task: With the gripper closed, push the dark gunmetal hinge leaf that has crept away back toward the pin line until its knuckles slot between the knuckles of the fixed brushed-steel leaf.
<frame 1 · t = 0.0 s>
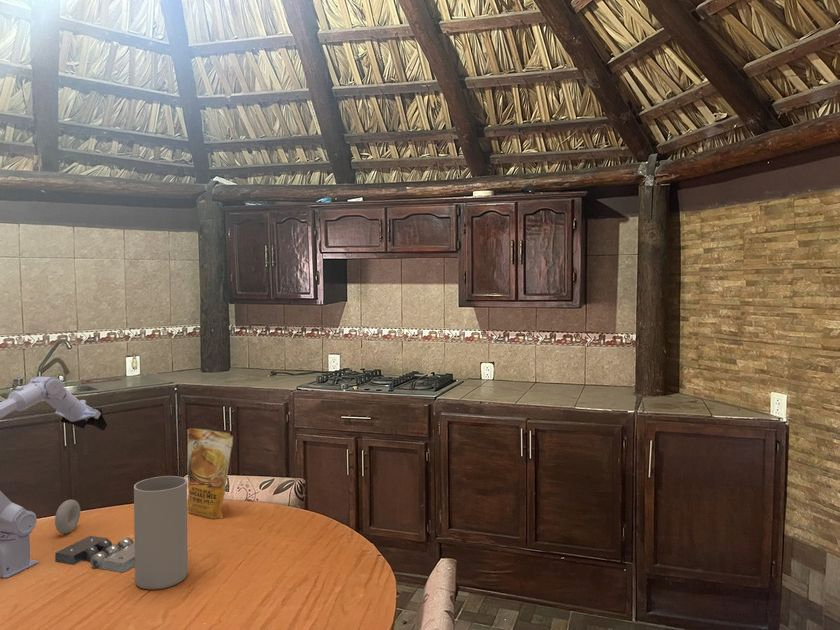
hand: (94, 426, 187), 32 cm above the table, tool tilted 50°, fingers open, 7 cm apart
pancake mix bag: (207, 514, 201), on the table
steel leaf: (112, 558, 167), on the table
donut: (68, 533, 185), on the table
gunmetal leaf: (88, 548, 169), point 2 cm above the table, slide at 5.0 cm
cylinder vase: (161, 579, 155), on the table
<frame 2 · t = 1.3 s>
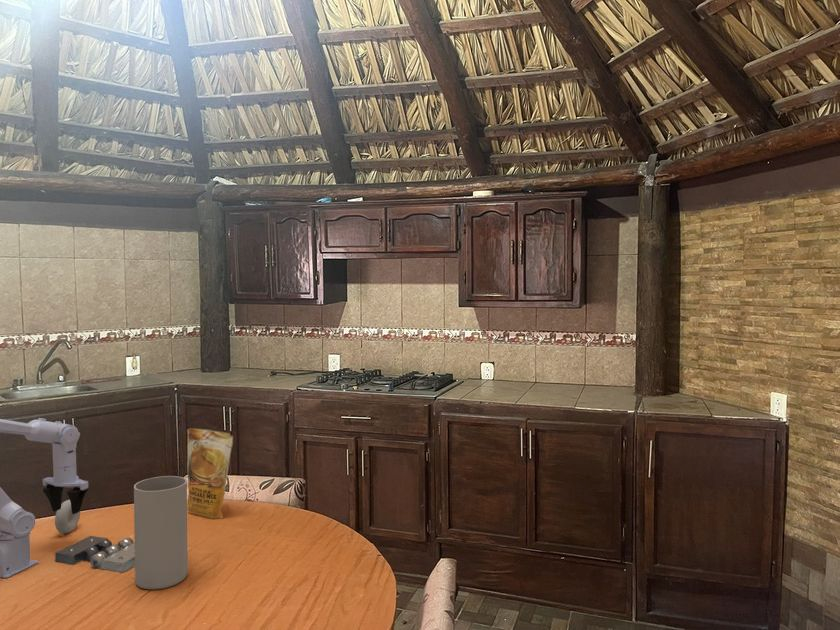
hand: (66, 511, 174), 10 cm above the table, tool pointing down, fingers open, 6 cm apart
nothing on the table moved.
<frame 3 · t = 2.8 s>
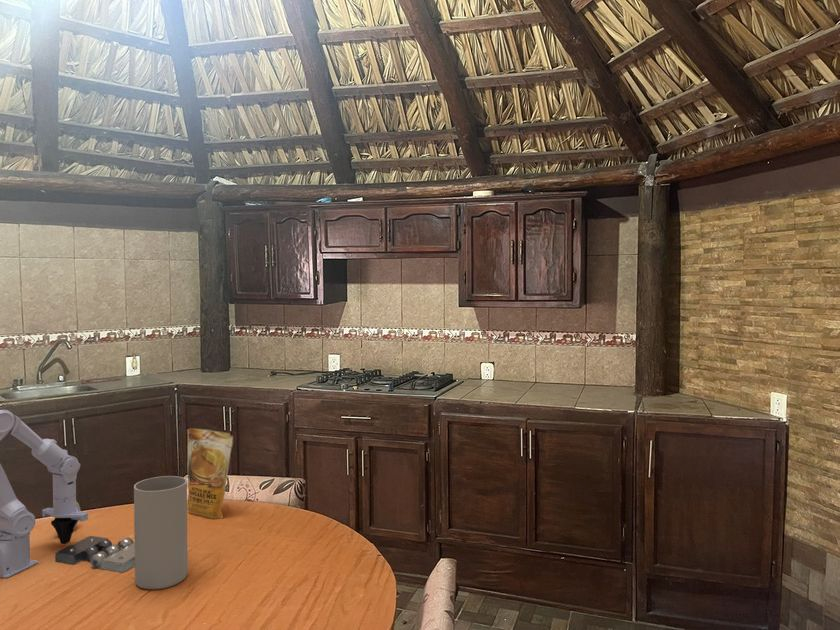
hand: (65, 542, 174), 1 cm above the table, tool pointing down, fingers closed
nothing on the table moved.
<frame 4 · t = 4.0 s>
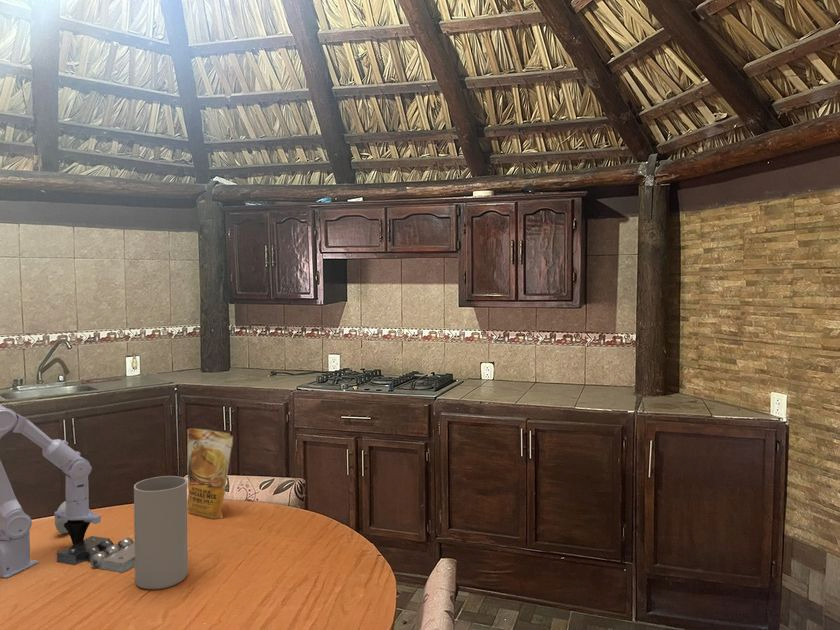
hand: (77, 545, 173), 1 cm above the table, tool pointing down, fingers closed
gunmetal leaf: (89, 548, 169), point 2 cm above the table, slide at 4.5 cm, touching gripper
everything else where it was.
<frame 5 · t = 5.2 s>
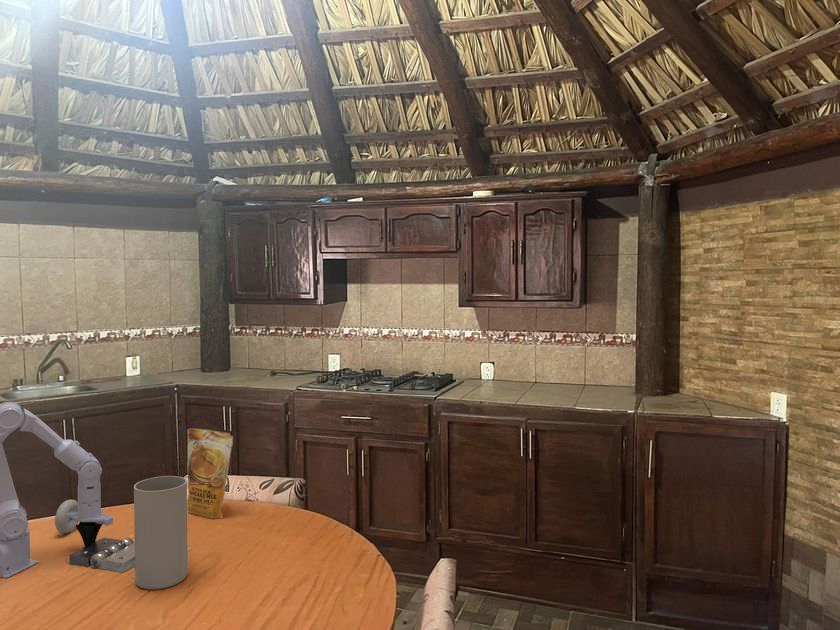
hand: (89, 547, 172), 1 cm above the table, tool pointing down, fingers closed
gunmetal leaf: (102, 550, 168), point 2 cm above the table, slide at 0.2 cm, touching gripper
everything else where it was.
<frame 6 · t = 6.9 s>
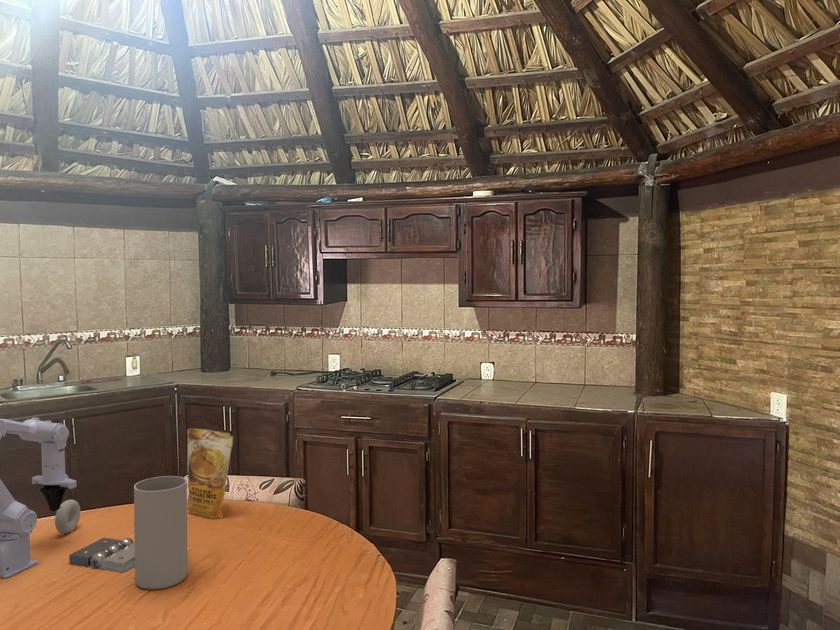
hand: (55, 509, 175), 10 cm above the table, tool pointing down, fingers closed
gunmetal leaf: (102, 550, 168), point 2 cm above the table, slide at 0.2 cm
everything else where it was.
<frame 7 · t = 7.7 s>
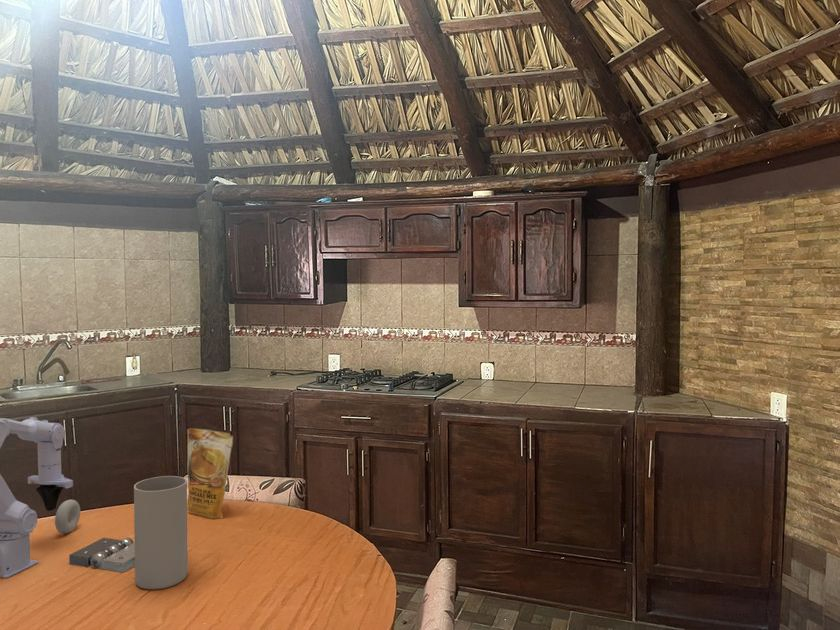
hand: (51, 509, 176), 10 cm above the table, tool pointing down, fingers closed
nothing on the table moved.
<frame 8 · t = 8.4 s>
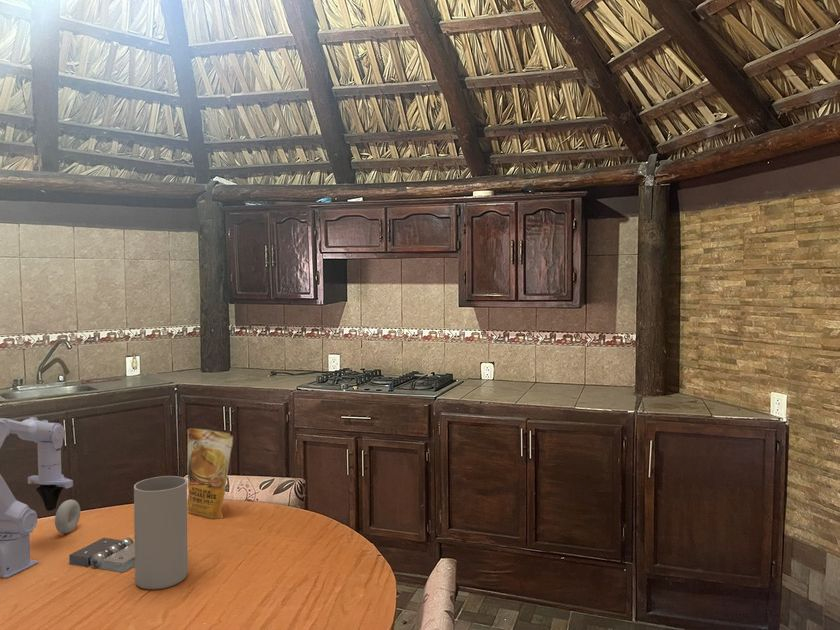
hand: (51, 509, 176), 10 cm above the table, tool pointing down, fingers closed
nothing on the table moved.
at the end: gunmetal leaf slide at 0.2 cm; gunmetal leaf touching nothing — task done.
